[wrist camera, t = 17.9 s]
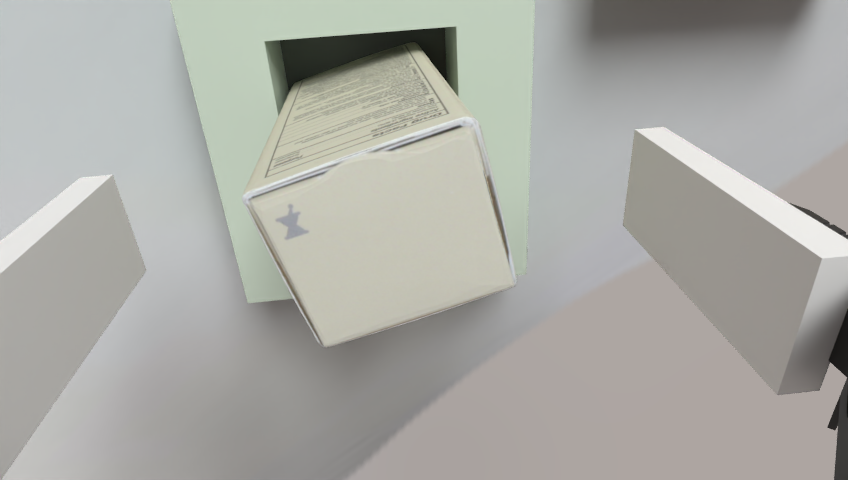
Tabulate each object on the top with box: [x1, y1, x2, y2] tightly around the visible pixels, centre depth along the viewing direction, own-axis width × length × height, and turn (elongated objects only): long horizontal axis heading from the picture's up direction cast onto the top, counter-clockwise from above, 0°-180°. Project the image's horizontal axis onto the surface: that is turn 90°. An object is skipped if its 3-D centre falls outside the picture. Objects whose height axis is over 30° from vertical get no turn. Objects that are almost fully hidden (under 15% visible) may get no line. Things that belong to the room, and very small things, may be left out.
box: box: [242, 42, 517, 347], centre depth 16 cm, size 5×4×11 cm
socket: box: [170, 0, 535, 303], centre depth 20 cm, size 11×12×3 cm
